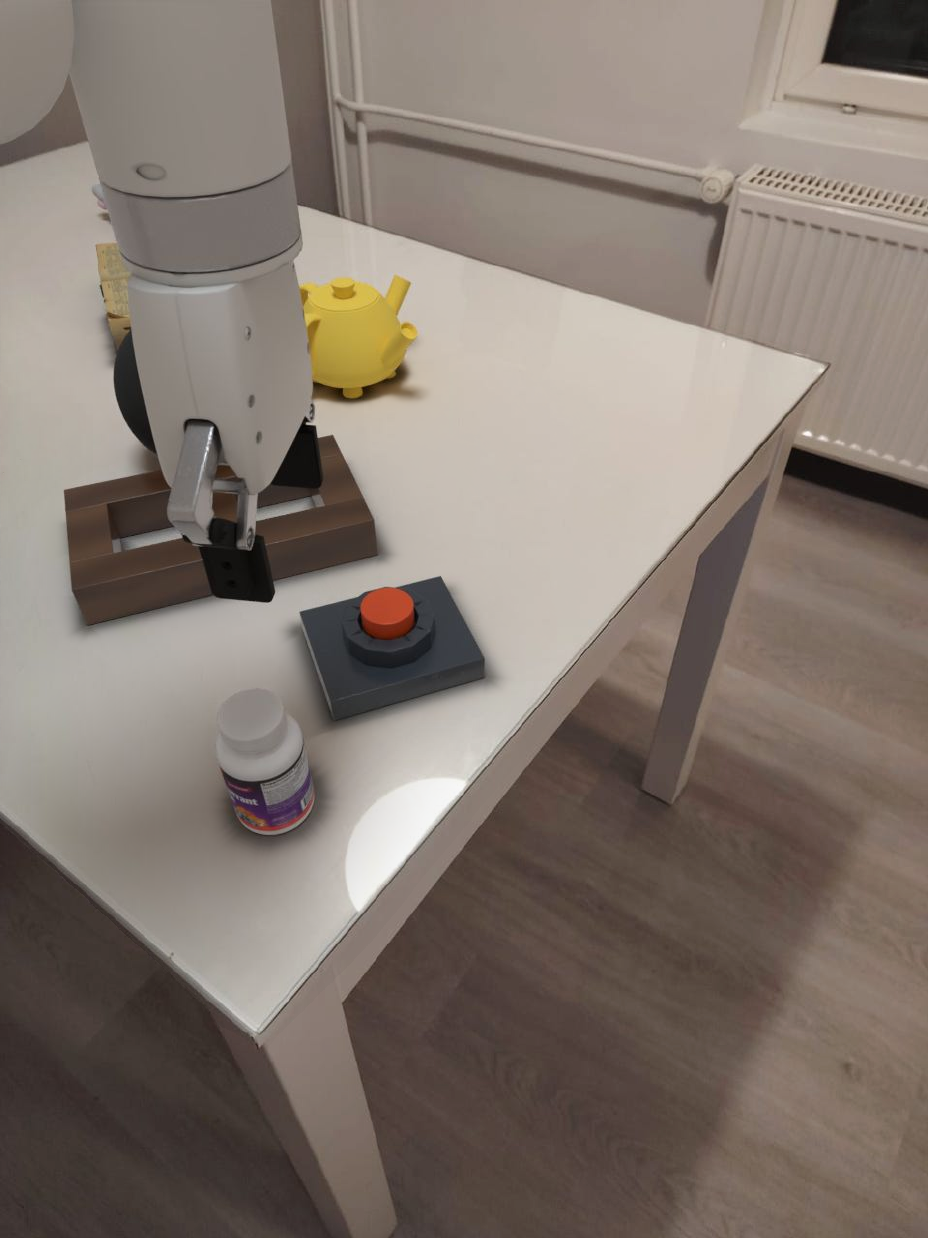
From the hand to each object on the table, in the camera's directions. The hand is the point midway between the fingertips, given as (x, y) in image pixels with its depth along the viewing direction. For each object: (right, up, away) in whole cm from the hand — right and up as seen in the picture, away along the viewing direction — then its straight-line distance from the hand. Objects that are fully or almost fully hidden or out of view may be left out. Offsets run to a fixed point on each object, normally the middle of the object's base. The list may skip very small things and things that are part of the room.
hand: (272, 536), depth 48 cm
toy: (-39, +56, +85) cm, 108 cm away
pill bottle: (-2, -17, +11) cm, 21 cm away
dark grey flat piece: (+5, -7, +21) cm, 23 cm away
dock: (-11, +3, +31) cm, 33 cm away
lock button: (+5, -5, +19) cm, 20 cm away
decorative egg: (-16, +12, +41) cm, 45 cm away
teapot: (-1, +23, +52) cm, 57 cm away
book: (-27, +35, +64) cm, 78 cm away
